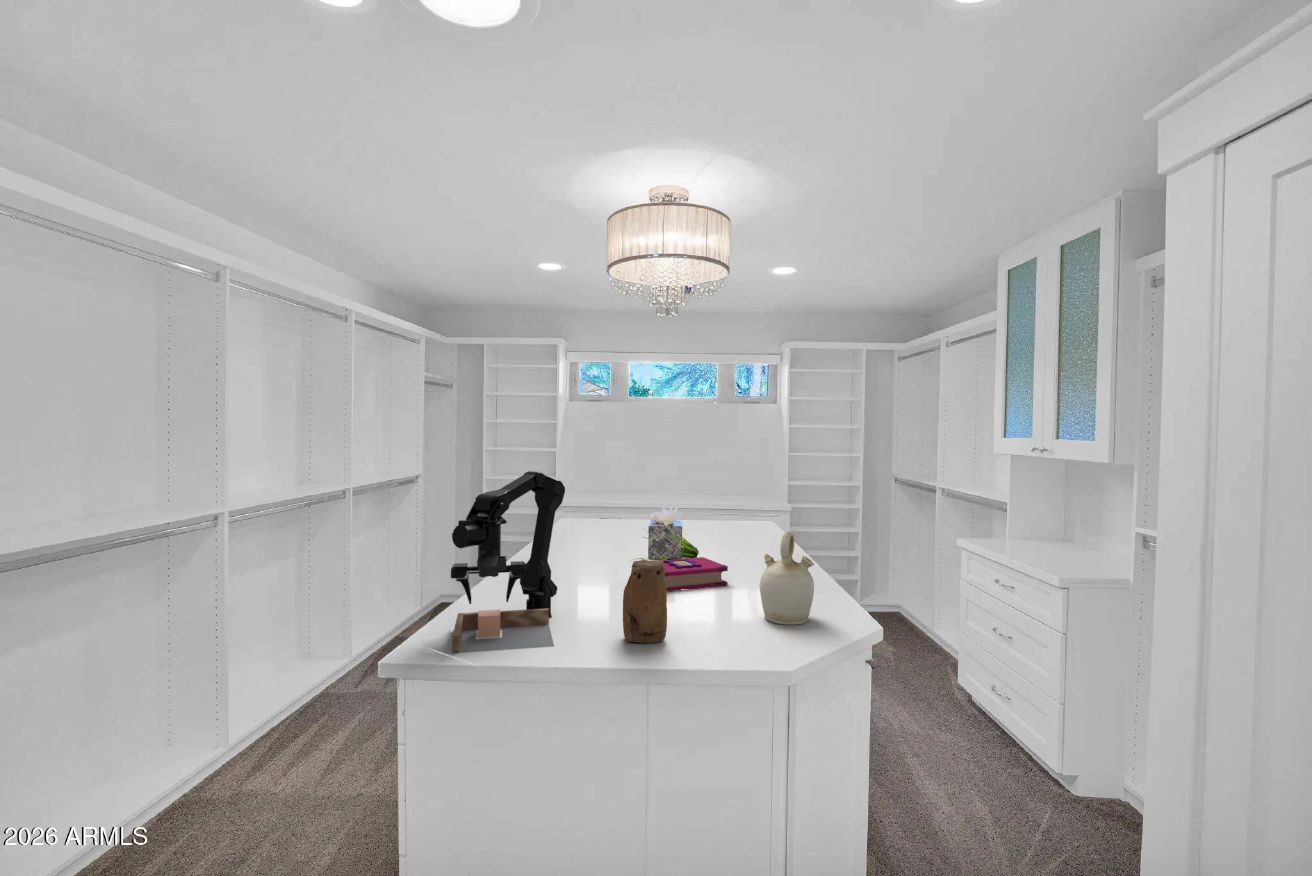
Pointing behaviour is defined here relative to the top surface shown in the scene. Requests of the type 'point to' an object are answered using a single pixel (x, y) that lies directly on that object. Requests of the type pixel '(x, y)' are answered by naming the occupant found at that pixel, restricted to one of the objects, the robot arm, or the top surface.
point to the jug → (787, 586)
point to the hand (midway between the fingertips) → (488, 602)
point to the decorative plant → (683, 549)
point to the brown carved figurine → (645, 603)
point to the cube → (489, 623)
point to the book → (693, 573)
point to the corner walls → (506, 620)
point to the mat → (507, 639)
